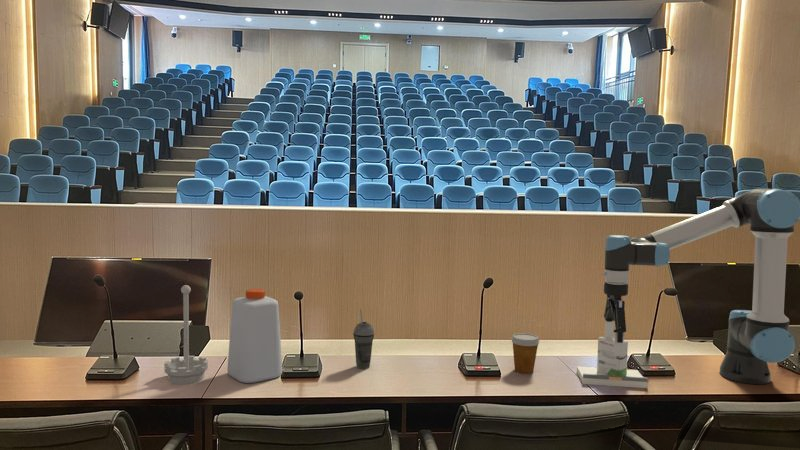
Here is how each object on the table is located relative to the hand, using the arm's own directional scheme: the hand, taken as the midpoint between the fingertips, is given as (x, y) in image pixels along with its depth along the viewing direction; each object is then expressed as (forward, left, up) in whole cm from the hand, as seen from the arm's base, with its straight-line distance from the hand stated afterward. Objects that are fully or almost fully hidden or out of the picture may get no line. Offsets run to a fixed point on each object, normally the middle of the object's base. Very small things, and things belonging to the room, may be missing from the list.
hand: (613, 346), depth 198 cm
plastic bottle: (+116, +18, -12) cm, 118 cm away
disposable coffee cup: (+28, -4, -12) cm, 31 cm away
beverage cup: (+83, +3, -12) cm, 84 cm away
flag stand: (+136, +25, -12) cm, 139 cm away
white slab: (0, 0, -12) cm, 12 cm away
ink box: (0, 0, -10) cm, 10 cm away
